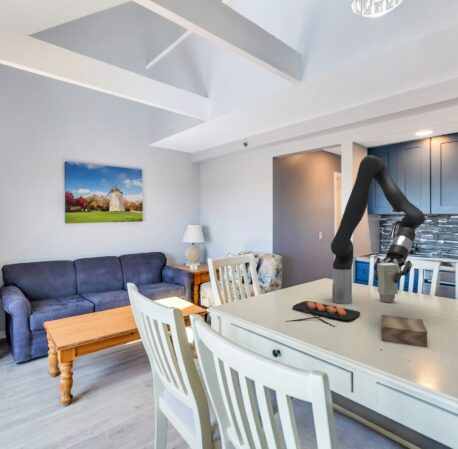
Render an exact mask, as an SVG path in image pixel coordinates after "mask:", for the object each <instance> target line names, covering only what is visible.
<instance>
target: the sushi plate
mask: <svg viewBox="0 0 458 449" xmlns="http://www.w3.org/2000/svg"><path fill="white" fill-rule="evenodd" d="M292 308H293V309H295V310H299V311H304V312H306V313H307V314H309V315H311V316H312V317H305V318H300V319H299V318H297V319H291V320H285V321H284V322H285V323H286V322H298V321H299V322H300V321H306V320H310V319H311V320H312V319H318V320H320V322H323V323H324V324H326V325H328V324H329V325H328V326H331V327H333V328H335V327H336V325H333V324H331V323H330V322H328V321H327V320H326V321H325V320H324V319H322V318H326V317H328V318H333V319H337V320H343V321H352V320H354V319H355V318H358V317H359V316H360V315H361V312H360V311H358V310H355V309H350V308H345V307H341V306H335V305H330V304H326V303H321V302H316V301H315V302H314V301H309V300H303V301H301V302H298V303H295V304H294V305H292ZM315 314H316V315H320V316H316V315H315Z"/></svg>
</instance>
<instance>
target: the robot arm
mask: <svg viewBox="0 0 458 449" xmlns="http://www.w3.org/2000/svg"><path fill="white" fill-rule="evenodd" d="M373 180H374V181H376V183H377V184H378V186H379V187H380V189H381V190H382V193H383V194H384V197H385V199H386V200H387V202H388V204H389V205H390V206H391V208H392V209H393V210H394V211H395V212H396V213H404V216H403V217H402V219H401V220H400V222H399V225H398V230H397V232H396V234H395V237H394V238H393V240H392V241H391V244H390V246H389V248H388V250H387V253H386V256H385V257H384V258H380V257H376V261H375V263H374V265H373V269H374V271H375V274H374V279H375V280H376V281H378V269H377V264H378V263H394V264H397V273H396V274H395V276H394V279H393V282H394V283H396V284H398V283H400V279H401V278H402V277H403V276H405V277H407V276H408V275H409V273H410V271H411V269H412V267H413V264H412V262H411V260H407V259H408V257H409V254H410V252H411V250H412V245H413V244H414V241H415V239H416V234H417V233H416V230H417V228H419V227H420V226H421V225H423V224H424V223H425V222H426V215H425V214H424V212H423V211H422V210H420V208H418V206H416V205H415V204H413V203H412V202H410V200H409V199H408V197H407V196H406V195H405V194H404V192H403V191H402V190H401V188H400V187H399V186H398V185H397V184H396V182H395V181H394V179H393V178H392V176H391V175H390V173H389V171H388V169H387V167H386V165H385V162H384V161H383V159H382V158H380V157H377V156H376V155H373V154H372V155H371V154H369V155H366V156H364V158H362V159H361V161H360V162H359V166H358V169H357V174H356V177H355V182H354V184H353V186H352V189H351V191H350V195H349V197H348V199H347V202H346V205H345V208H344V211H343V214H342V217H341V219H340V224H339V225H338V226H339V227H338V229H337V230H336V233H335V236H334V237H333V239H332V241H331V244H330V250H331V252H332V254H333V255H334V261H333V262H332V286H331V287H332V299H331V300H332V302H333V303H337V304H345V305H346V304H352V303H353V267H352V266H353V262H354V244H353V241H352V237H353V234H354V232H355V230H356V228H357V227H358V226H359V224H360V223H361V221H362V219H363V217H364V215H365V213H366V210H367V208H368V203H369V197H370V195H369V194H370V186H371V184H372V181H373ZM402 267H403V269H402Z"/></svg>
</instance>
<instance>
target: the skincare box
mask: <svg viewBox="0 0 458 449" xmlns="http://www.w3.org/2000/svg"><path fill="white" fill-rule="evenodd" d="M377 269H378V280H377V293H381V294H382V295H390V294H395V295H399V292H398V291H399V290H398V288H399V287H398V286H399V285H398V283H397V284H396V283H394V282H393V279H394V276H395V274H396V273H397V264H394V263H384V262H383V263H378V264H377Z"/></svg>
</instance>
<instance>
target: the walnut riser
mask: <svg viewBox="0 0 458 449" xmlns="http://www.w3.org/2000/svg"><path fill="white" fill-rule="evenodd" d="M380 317H381V320H380V322H381V323H380V324H381V326H380V327H381V341H386V342H392V343H398V344H399V343H400V344H405V345H413V346H420V347H428V331H427V328H426V325H425V323H424V321H423V318H422V319H421V318H415V317H413V318H412V317H404V316H403V317H402V316H396V315H395V316H394V315H388V314H387V315H386V314H381V316H380Z"/></svg>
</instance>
